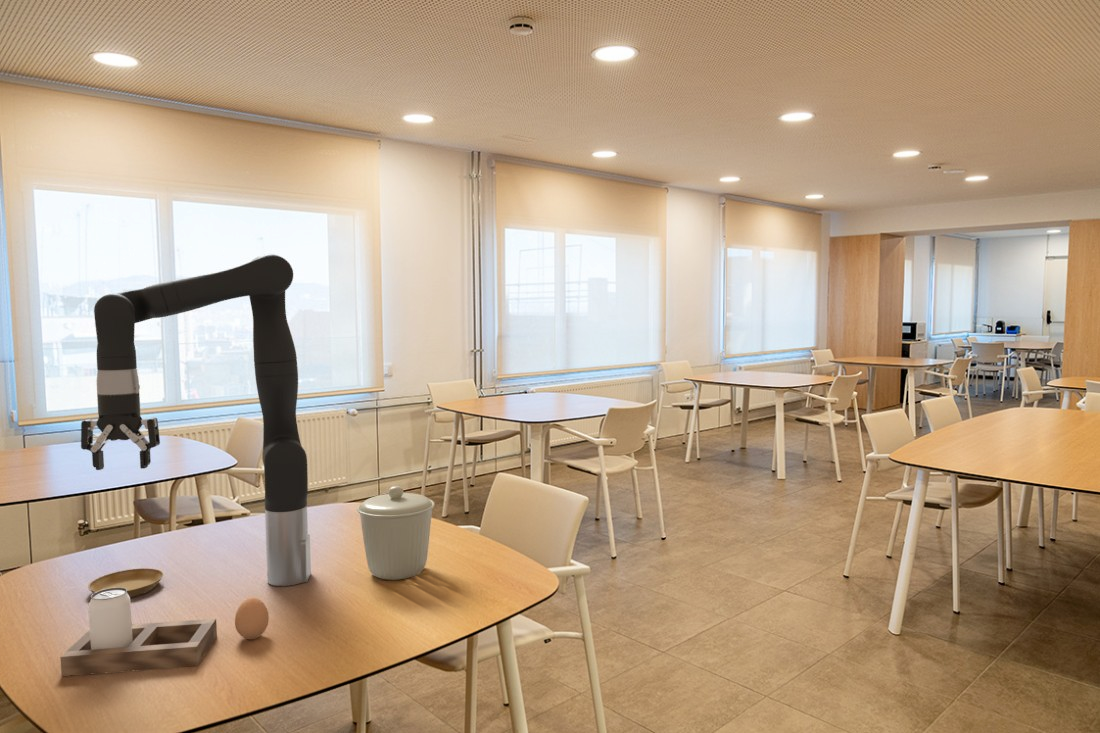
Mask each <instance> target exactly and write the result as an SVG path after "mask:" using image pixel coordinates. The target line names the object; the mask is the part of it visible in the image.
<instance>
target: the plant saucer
mask: <svg viewBox="0 0 1100 733" xmlns="http://www.w3.org/2000/svg"><path fill="white" fill-rule="evenodd" d="M163 577H164V572H163V571H162V570H160V569H156V568H149V567H148V568H147V567H146V568H145V567H143V568H129V569H125V570H121V571H120V570H119V571H114V572H111V573H107V574H104V575H102V576H100V577H99V576H98V577H97V578H95V579H93V580H91V582H90V583H89V584H88V585H87V588H88V590H89V591H90V592H92V594H94V593H95V592H97V591H100V590H103V589H108V588H115V587H122V588H126V589H127V594H128V595H129V597H130V598H133V597H138V596H140V594H141V595H144V594H146V593H148V592H149V591H151V590H153V589H154V588H156V586H157V585H158V584H159V582H160V581H161V580H162V579H163ZM143 593H144V594H143Z"/></svg>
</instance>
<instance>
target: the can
mask: <svg viewBox="0 0 1100 733" xmlns="http://www.w3.org/2000/svg"><path fill="white" fill-rule="evenodd" d="M88 617H89V618H88V619H89V621H88V623H89V630H90V640H91V650H94V649H108V648H121V647H128V646H129V645H130V644H131V643H132V642H133V639H132V620H133V619H132V607H131V597H129V595H128V594H127V589H126V588H122V587H115V588H108V589H103V590H100V591H97V592H95V593H92V594H91V595H90V601H89V604H88Z"/></svg>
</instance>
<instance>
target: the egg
mask: <svg viewBox="0 0 1100 733" xmlns="http://www.w3.org/2000/svg"><path fill="white" fill-rule="evenodd" d="M236 610H237V611H236V612H235V616H234V617H235V618H234V626H235V627H234V628H235V630H236V631H237V633H238V634H239V636H241V638H244V639H247V640H255V639H258V638H259V637H260V636H262V635H263V634H264V632H266V630H267V627H268V626H269V622H270V620H269V619H270V617H269V615H270V614H269V611H268V608H267V606H266V604H265V603H264V602H263V601H262V600H261V599H260V598H258V597H255V596H251V597H248V598H246V599H245V600H243V601H242V602H241V603H240V605H239V606H238V608H237V609H236Z"/></svg>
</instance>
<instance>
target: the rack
mask: <svg viewBox="0 0 1100 733" xmlns="http://www.w3.org/2000/svg"><path fill="white" fill-rule="evenodd" d="M217 632H218V629H217V618H206V619H193V620H177V621H176V620H175V621H164V622H163V621H162V622H149V623H135V624H132V639H133V642H132V643H131V644H130V645H129V646H128V647H121V648H108V649H94V650H91V640H90V629H88V630H87V632H85V633H84V634H83V635H82V636H81V637H80V638H78V640H77V641H76V642H75V643H73V645H71V646H70V647H69V648H68V649H67V650H65V652H64V653H63V654H62V655H61V656H60V657H59V658H60V673H61V677H62V676H63V677H71V676H70V675H75V676H84V675H83V674H88V675H92V674H91V673H100V674H106V673H105V672H108V673H107V674H109V672H113V673H122V672H121V671H125V672H133V671H132V670H135V671H136V670H138V671H149V670H160V669H161V668H162V669H163V670H164V669H173V668H176V669H177V668H186V667H187V668H189V667H198V666H199V664H200V662H201V661H202V659H203V658H204V657H205V656H206V654H207V652H208V651H209V650H210V647H211V646H212V644H213V643H214V641H215V640H216V638H217V637H218V633H217ZM135 671H134V672H135ZM136 672H137V671H136Z"/></svg>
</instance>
